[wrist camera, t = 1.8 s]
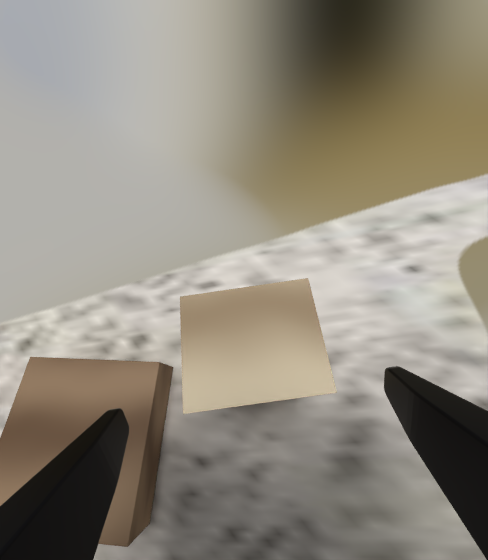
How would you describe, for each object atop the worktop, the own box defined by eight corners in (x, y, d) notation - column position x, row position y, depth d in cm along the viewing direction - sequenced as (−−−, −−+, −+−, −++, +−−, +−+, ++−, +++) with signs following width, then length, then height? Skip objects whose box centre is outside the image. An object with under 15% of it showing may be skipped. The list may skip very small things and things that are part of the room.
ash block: (298, 396, 20) (336, 392, 9) (227, 406, 20) (182, 414, 9) (286, 338, 22) (307, 278, 11) (221, 347, 22) (179, 296, 11)
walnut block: (151, 521, 18) (127, 546, 15) (16, 508, 19) (-34, 530, 16) (174, 367, 22) (159, 362, 19) (62, 363, 23) (30, 356, 20)
